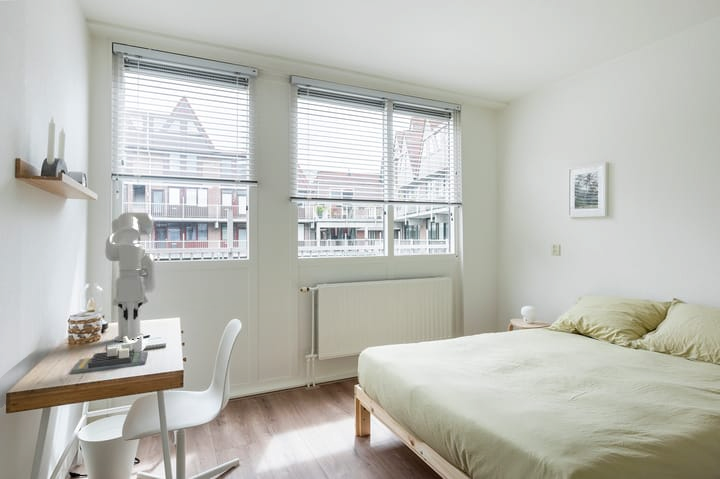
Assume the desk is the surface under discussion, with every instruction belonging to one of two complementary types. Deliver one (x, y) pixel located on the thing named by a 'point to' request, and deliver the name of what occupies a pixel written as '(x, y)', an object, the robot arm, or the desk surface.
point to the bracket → (137, 343)
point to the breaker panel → (109, 361)
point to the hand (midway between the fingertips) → (130, 318)
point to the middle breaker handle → (112, 351)
